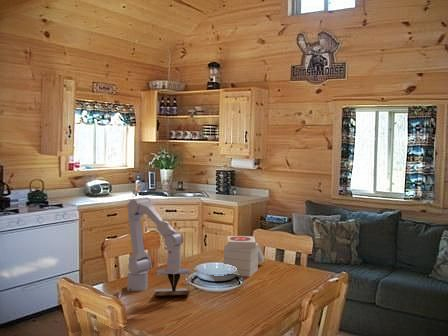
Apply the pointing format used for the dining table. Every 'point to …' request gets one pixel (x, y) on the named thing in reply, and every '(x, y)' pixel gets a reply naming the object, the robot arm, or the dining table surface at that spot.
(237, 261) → the pizza boxes
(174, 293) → the walnut plank
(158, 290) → the grey board
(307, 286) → the dining table surface
